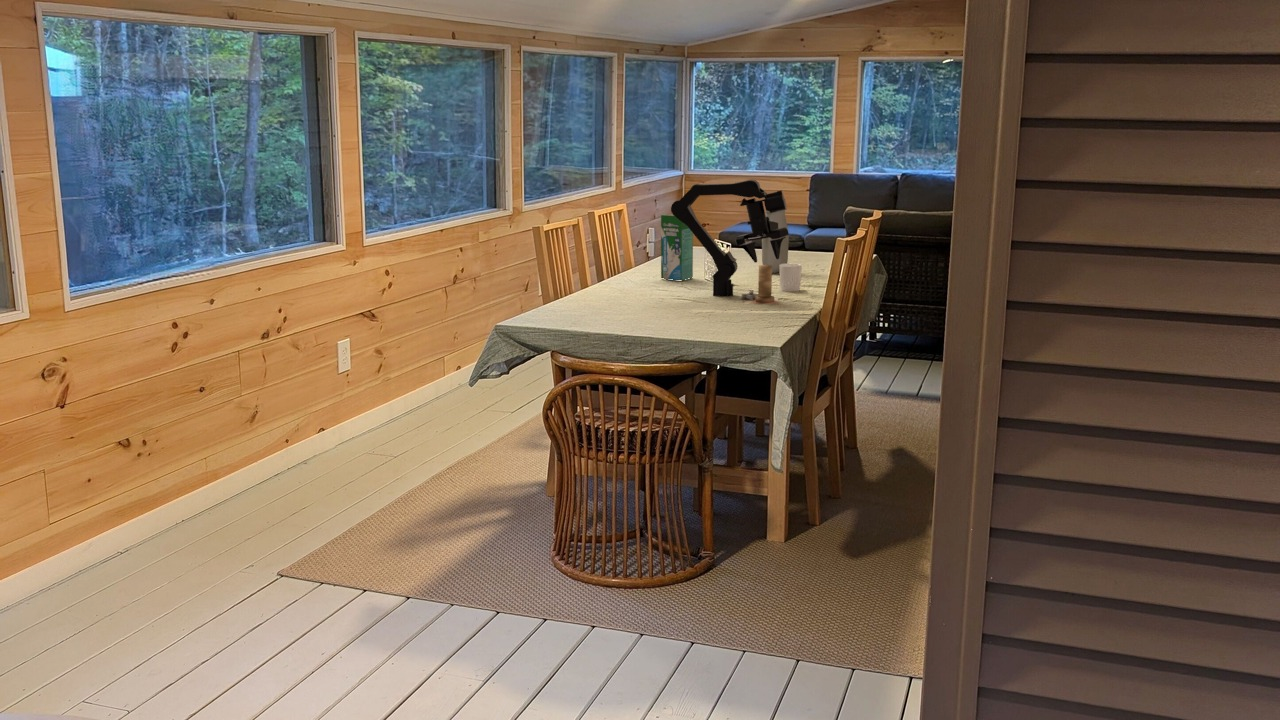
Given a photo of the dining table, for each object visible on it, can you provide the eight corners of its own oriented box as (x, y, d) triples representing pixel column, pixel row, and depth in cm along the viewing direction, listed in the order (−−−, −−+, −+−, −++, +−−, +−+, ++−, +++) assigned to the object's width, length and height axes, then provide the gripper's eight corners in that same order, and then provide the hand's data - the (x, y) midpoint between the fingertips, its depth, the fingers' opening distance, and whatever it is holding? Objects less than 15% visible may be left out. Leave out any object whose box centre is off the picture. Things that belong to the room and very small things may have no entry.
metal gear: (741, 300, 381) (741, 291, 380) (741, 297, 387) (741, 288, 387) (761, 300, 380) (761, 292, 379) (760, 297, 387) (760, 288, 386)
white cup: (800, 294, 398) (801, 266, 395) (777, 294, 399) (778, 266, 397) (801, 291, 405) (802, 263, 403) (779, 290, 407) (780, 263, 405)
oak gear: (754, 302, 375) (755, 266, 373) (755, 299, 382) (756, 264, 379) (773, 303, 374) (774, 267, 372) (774, 299, 381) (775, 264, 378)
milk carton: (692, 278, 436) (693, 213, 431) (681, 281, 429) (681, 215, 423) (672, 276, 441) (672, 212, 435) (660, 279, 434) (660, 214, 428)
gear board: (742, 306, 375) (742, 303, 375) (742, 299, 389) (742, 296, 388) (778, 307, 374) (778, 303, 374) (777, 299, 388) (777, 296, 387)
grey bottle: (769, 270, 456) (770, 200, 450) (791, 272, 450) (793, 201, 444) (757, 273, 448) (758, 202, 442) (779, 275, 442) (781, 203, 436)
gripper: (792, 207, 383) (802, 252, 386) (748, 215, 396) (758, 259, 399) (774, 213, 375) (784, 259, 378) (730, 221, 388) (740, 265, 391)
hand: (766, 260), depth 386 cm, fingers open, 9 cm apart
